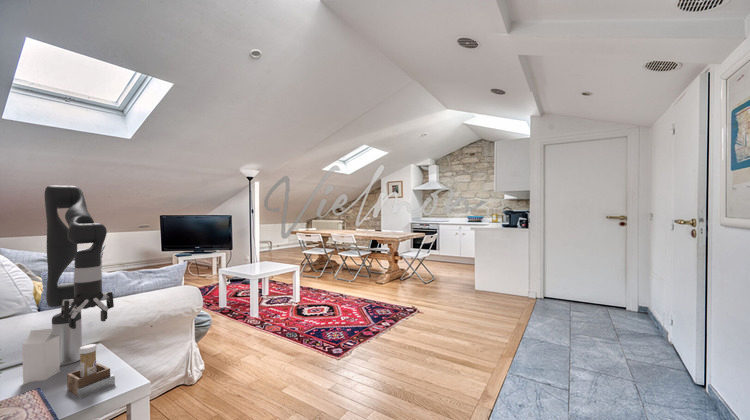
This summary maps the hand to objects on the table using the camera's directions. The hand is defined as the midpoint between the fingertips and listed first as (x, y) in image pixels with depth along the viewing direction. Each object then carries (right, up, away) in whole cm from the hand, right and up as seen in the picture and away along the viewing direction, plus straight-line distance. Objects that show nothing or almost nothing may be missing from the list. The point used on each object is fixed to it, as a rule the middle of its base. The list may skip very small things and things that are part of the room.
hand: (88, 324), depth 117 cm
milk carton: (-25, -24, +8) cm, 35 cm away
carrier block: (0, -22, 0) cm, 22 cm away
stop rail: (+5, -22, -3) cm, 23 cm away
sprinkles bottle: (0, -21, 0) cm, 21 cm away
